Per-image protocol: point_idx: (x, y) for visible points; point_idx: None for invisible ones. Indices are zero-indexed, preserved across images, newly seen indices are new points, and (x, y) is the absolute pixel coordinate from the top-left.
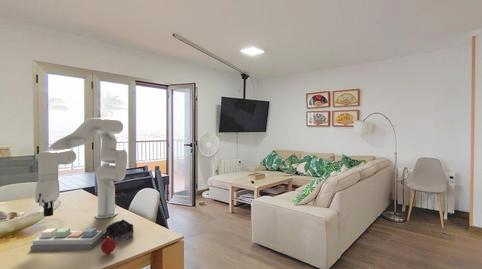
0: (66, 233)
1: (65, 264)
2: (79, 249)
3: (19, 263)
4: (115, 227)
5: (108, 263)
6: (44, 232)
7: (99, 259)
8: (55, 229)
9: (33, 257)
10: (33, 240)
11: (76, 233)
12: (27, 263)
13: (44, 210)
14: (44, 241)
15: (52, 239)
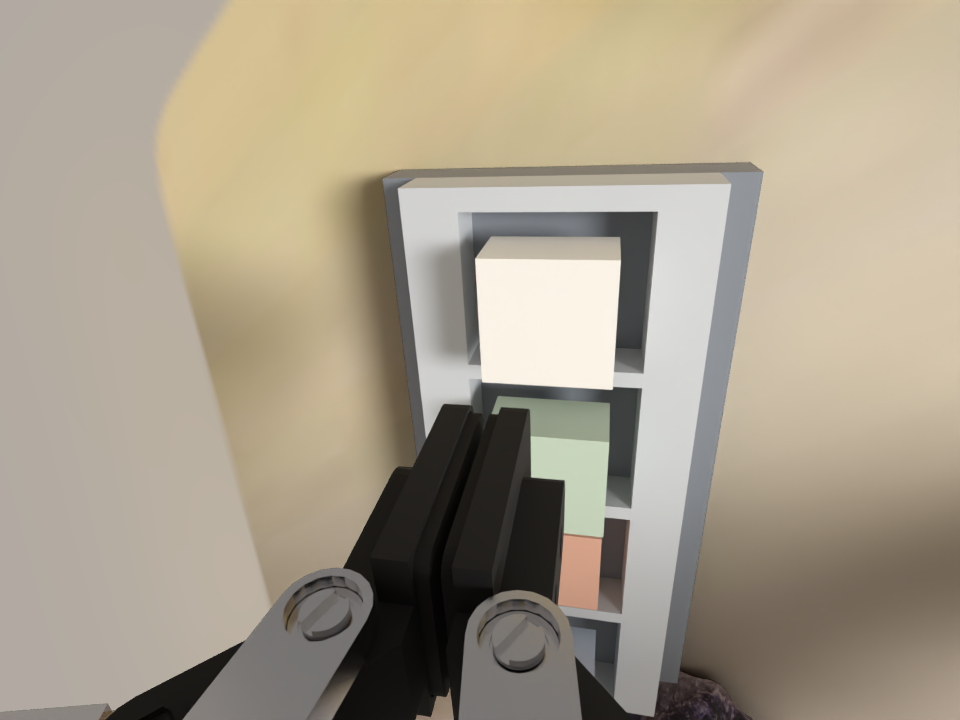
0: None
1: (255, 550)
2: None
3: (191, 254)
4: None
5: None
6: (478, 300)
7: None
8: (582, 386)
9: (291, 298)
10: (400, 196)
11: (564, 566)
12: (207, 318)
13: (360, 538)
14: (417, 323)
15: (441, 397)
